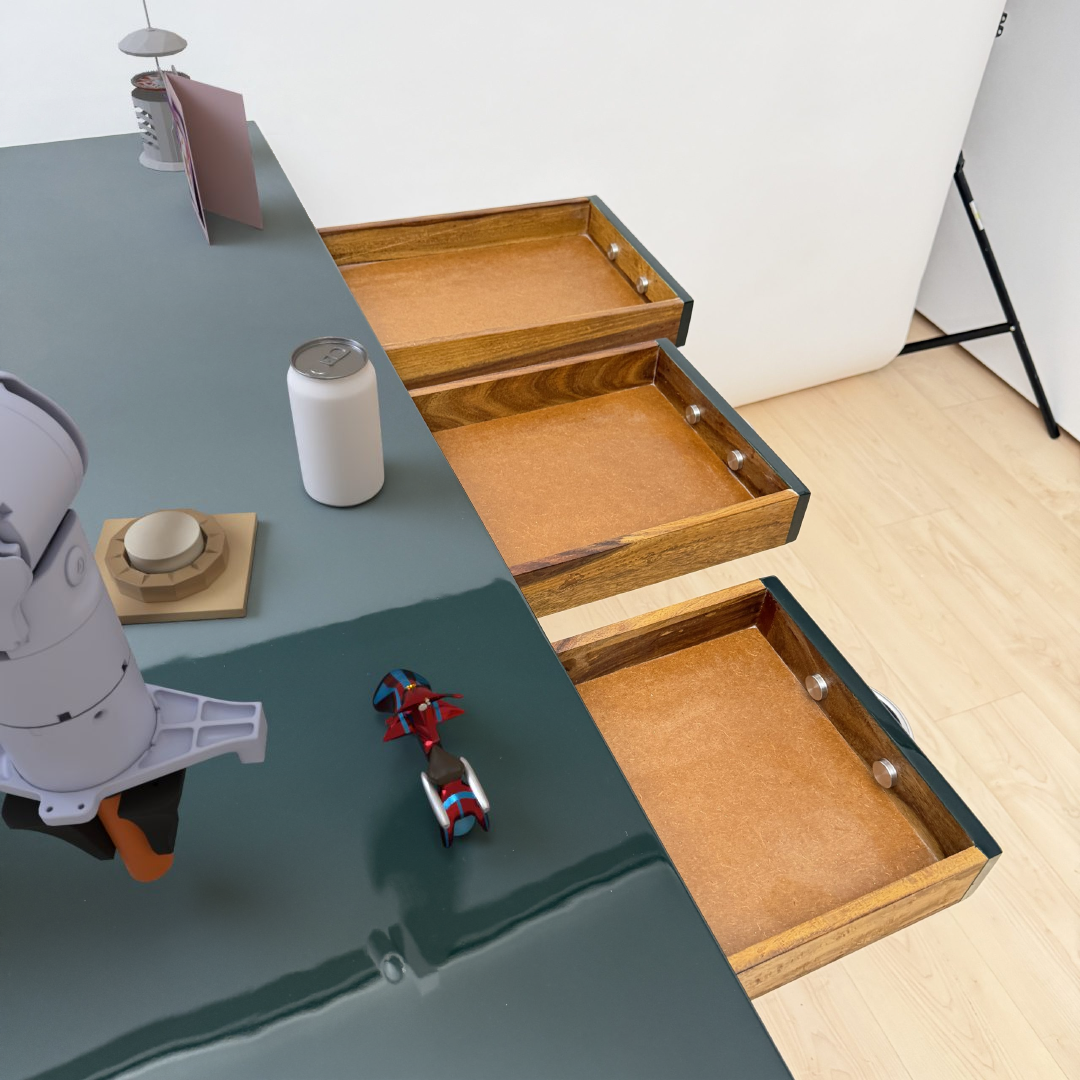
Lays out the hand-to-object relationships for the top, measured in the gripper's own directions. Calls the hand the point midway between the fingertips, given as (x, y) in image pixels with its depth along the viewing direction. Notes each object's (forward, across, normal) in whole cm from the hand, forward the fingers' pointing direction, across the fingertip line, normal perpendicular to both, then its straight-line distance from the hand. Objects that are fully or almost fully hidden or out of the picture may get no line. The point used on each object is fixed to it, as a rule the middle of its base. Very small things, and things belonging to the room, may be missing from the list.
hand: (139, 838), depth 45 cm
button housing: (+5, -3, +24) cm, 25 cm away
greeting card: (+5, -6, +83) cm, 83 cm away
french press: (+5, -14, +102) cm, 103 cm away
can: (+5, +9, +33) cm, 35 cm away
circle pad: (+3, -3, +24) cm, 24 cm away
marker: (+2, 0, 0) cm, 2 cm away
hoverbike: (+5, +15, +6) cm, 17 cm away
